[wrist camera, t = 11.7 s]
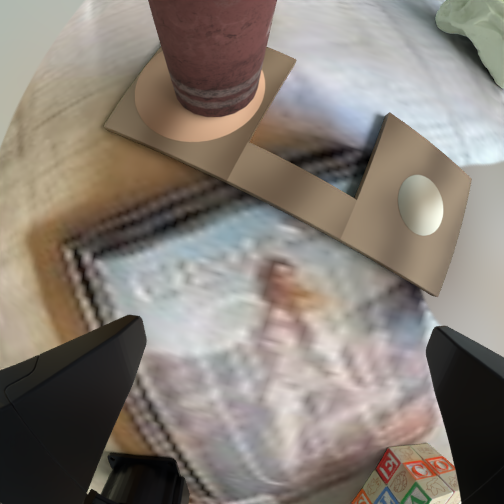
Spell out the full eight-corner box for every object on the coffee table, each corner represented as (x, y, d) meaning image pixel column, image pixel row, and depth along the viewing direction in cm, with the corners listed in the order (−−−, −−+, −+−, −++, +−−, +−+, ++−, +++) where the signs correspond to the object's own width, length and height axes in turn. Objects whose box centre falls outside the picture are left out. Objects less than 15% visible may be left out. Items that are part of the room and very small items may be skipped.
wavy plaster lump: (469, 72, 30) (539, 53, 17) (485, 121, 26) (571, 102, 13) (408, -16, 22) (487, -47, 9) (419, 9, 18) (526, -26, 5)
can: (191, 49, 19) (174, -93, 5) (267, 68, 19) (306, -80, 5) (159, 108, 19) (96, -40, 5) (241, 131, 19) (265, -35, 5)
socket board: (466, 180, 22) (472, 178, 21) (432, 295, 22) (438, 297, 21) (185, 25, 20) (184, 19, 19) (107, 129, 19) (103, 125, 18)
